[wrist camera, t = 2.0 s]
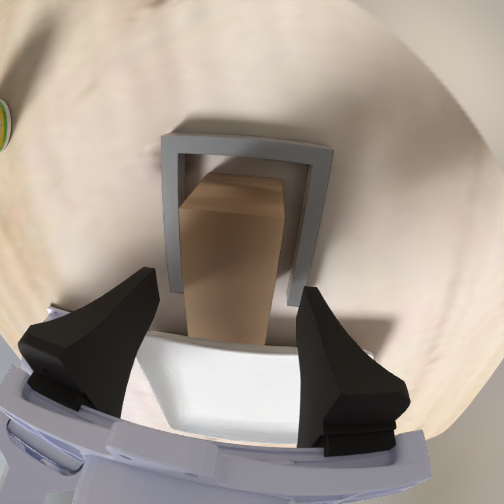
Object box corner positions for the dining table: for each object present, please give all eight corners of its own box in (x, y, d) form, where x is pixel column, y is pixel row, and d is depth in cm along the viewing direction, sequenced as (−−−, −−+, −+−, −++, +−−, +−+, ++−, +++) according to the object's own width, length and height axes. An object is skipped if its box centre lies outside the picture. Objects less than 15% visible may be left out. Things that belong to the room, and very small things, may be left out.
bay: (176, 279, 21) (170, 291, 20) (170, 132, 15) (161, 136, 14) (299, 293, 21) (300, 307, 20) (328, 145, 15) (333, 150, 14)
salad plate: (137, 308, 24) (123, 335, 21) (371, 326, 23) (380, 355, 20) (174, 412, 35) (169, 431, 32) (320, 424, 34) (321, 444, 31)
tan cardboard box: (207, 277, 21) (188, 336, 16) (208, 172, 17) (178, 208, 12) (267, 284, 21) (264, 346, 16) (281, 179, 17) (285, 218, 11)
